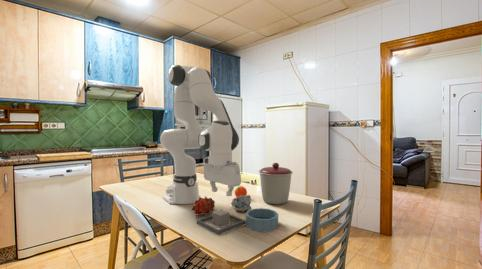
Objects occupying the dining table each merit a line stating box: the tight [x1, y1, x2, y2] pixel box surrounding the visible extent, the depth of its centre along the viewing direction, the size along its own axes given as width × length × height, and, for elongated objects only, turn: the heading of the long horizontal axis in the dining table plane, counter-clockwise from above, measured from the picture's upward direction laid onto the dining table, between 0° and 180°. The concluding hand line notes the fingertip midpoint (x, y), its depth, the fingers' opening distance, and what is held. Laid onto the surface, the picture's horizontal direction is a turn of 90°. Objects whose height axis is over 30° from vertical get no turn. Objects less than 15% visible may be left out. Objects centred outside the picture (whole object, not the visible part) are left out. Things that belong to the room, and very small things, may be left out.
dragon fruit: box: [191, 196, 216, 217], centre depth 111 cm, size 8×8×12 cm
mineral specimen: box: [230, 194, 253, 212], centre depth 118 cm, size 10×8×10 cm
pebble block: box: [212, 209, 231, 229], centre depth 100 cm, size 5×5×5 cm
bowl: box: [245, 207, 279, 232], centre depth 100 cm, size 13×13×4 cm
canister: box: [258, 162, 294, 206], centre depth 130 cm, size 18×18×21 cm
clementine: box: [234, 185, 248, 198], centre depth 135 cm, size 8×7×7 cm
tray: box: [196, 213, 246, 236], centre depth 100 cm, size 14×14×2 cm
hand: (221, 193), depth 99 cm, fingers open, 8 cm apart
